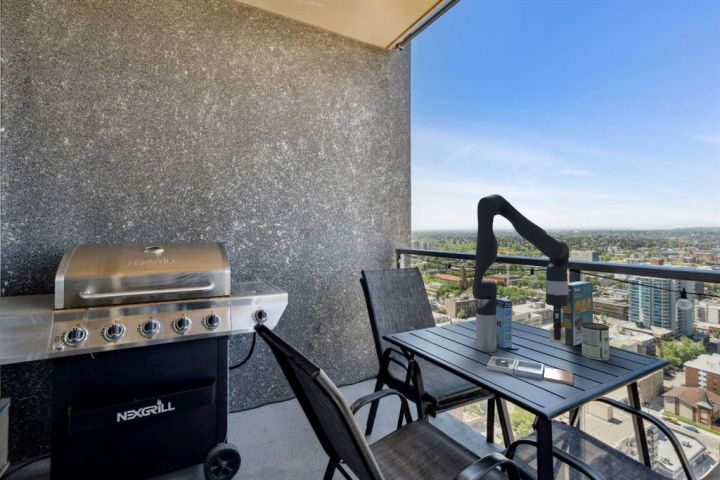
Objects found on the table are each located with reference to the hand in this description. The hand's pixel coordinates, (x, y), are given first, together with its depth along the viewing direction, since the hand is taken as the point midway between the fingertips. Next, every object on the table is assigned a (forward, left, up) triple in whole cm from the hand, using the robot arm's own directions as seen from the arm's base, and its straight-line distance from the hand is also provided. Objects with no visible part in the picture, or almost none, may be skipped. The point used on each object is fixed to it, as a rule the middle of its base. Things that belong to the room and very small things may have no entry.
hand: (557, 336), depth 128 cm
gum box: (-36, -28, -16) cm, 48 cm away
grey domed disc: (0, -20, -15) cm, 25 cm away
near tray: (0, -20, -15) cm, 25 cm away
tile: (0, 0, -15) cm, 15 cm away
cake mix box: (-59, +8, -16) cm, 62 cm away
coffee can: (-35, +14, -16) cm, 41 cm away
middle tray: (0, -10, -15) cm, 18 cm away
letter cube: (0, 0, -2) cm, 2 cm away
